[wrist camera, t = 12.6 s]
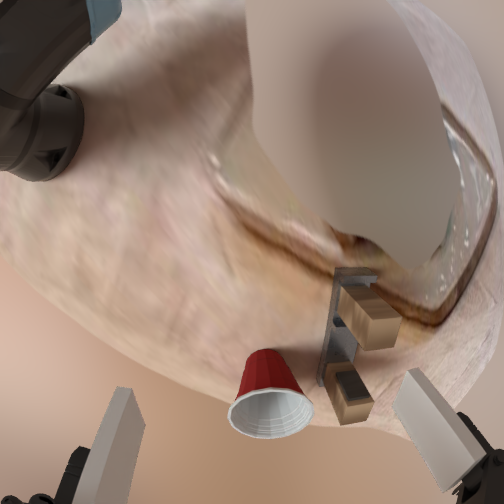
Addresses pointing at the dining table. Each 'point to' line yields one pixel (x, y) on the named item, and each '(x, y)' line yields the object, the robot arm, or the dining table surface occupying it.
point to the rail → (341, 321)
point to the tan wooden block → (368, 317)
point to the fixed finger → (347, 393)
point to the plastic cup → (269, 399)
